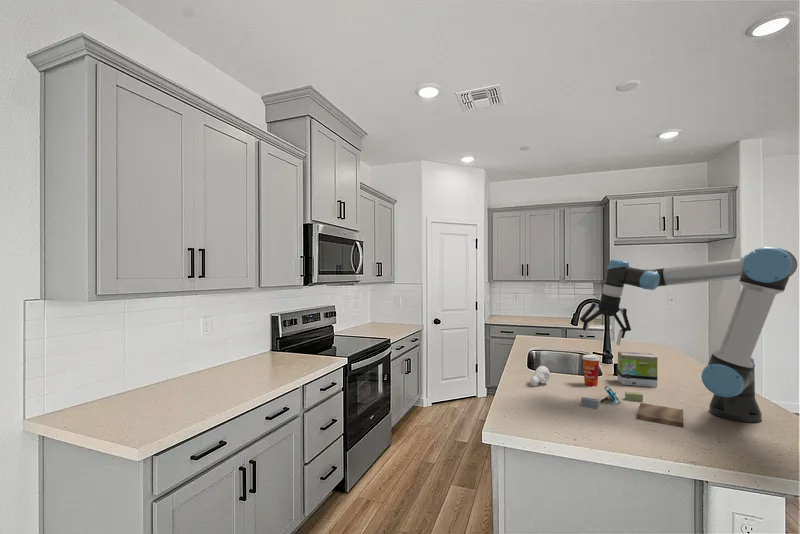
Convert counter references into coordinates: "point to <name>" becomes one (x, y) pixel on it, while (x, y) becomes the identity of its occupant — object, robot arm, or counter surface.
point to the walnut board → (660, 414)
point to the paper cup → (590, 369)
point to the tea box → (637, 369)
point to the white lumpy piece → (540, 376)
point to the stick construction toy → (610, 396)
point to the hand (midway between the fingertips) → (601, 340)
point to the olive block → (634, 396)
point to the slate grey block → (589, 402)
